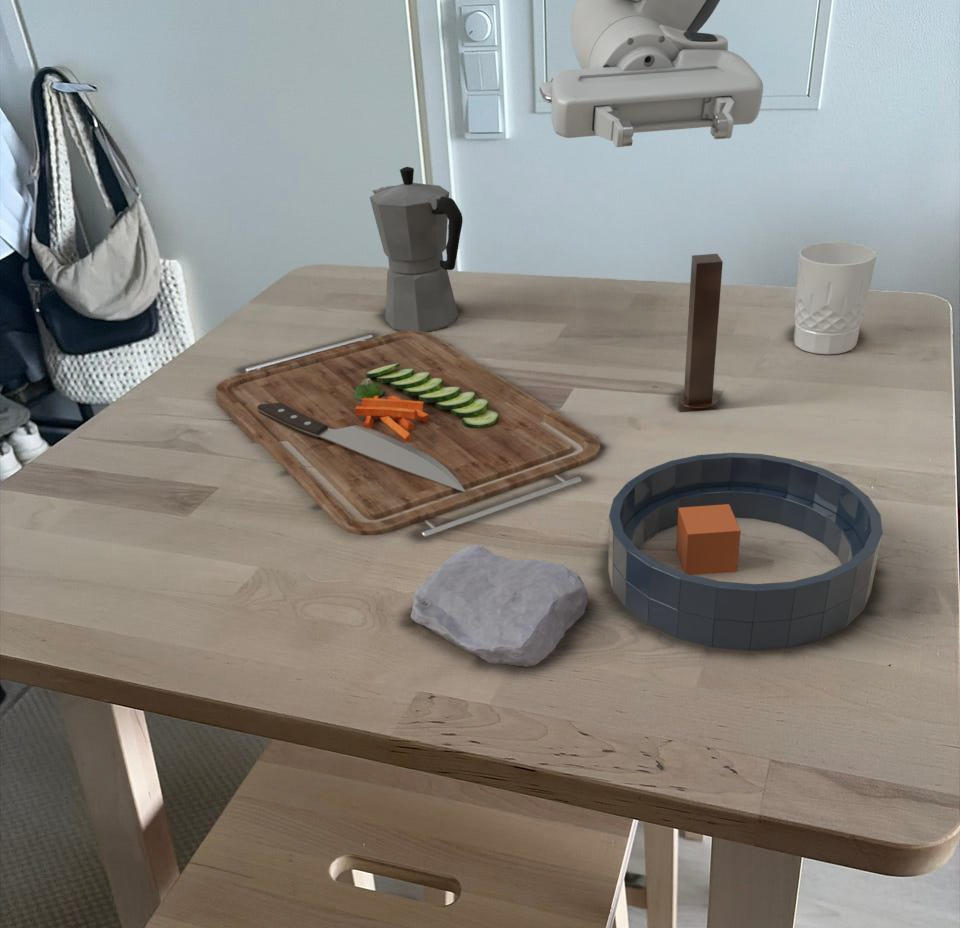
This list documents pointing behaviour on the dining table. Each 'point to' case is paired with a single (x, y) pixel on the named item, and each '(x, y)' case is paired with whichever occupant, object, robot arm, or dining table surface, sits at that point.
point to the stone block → (500, 605)
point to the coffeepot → (418, 252)
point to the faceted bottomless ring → (741, 606)
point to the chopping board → (401, 429)
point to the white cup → (831, 295)
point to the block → (707, 539)
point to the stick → (702, 334)
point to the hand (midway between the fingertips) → (675, 134)
